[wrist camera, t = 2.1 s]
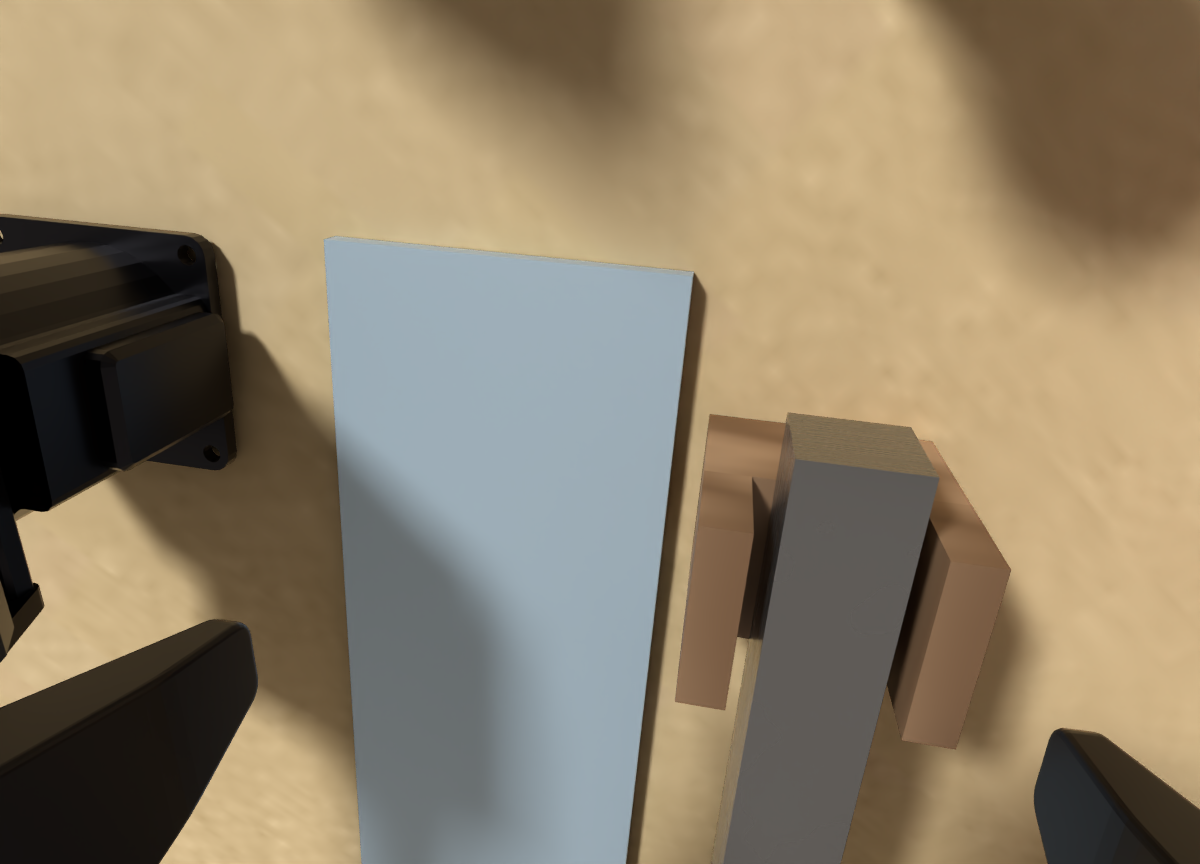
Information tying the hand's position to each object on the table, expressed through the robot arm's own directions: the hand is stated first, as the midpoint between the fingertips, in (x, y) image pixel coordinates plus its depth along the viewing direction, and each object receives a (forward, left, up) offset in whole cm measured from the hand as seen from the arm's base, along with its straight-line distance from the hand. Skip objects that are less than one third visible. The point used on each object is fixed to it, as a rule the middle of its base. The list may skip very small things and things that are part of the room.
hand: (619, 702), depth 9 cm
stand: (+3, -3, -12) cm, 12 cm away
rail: (+3, -12, -8) cm, 15 cm away
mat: (-5, -12, -12) cm, 18 cm away
